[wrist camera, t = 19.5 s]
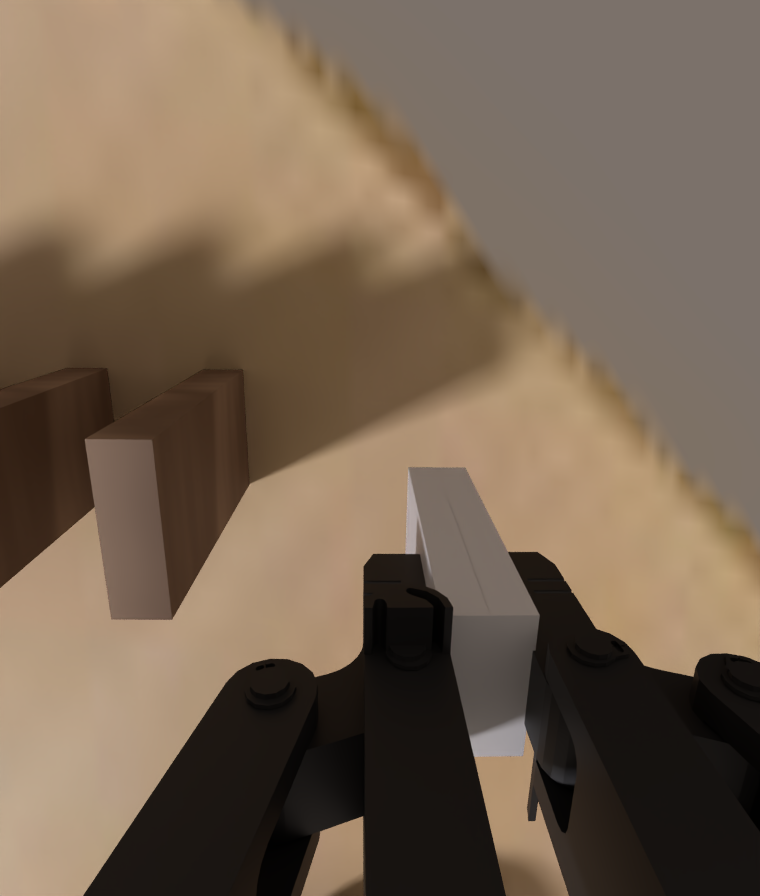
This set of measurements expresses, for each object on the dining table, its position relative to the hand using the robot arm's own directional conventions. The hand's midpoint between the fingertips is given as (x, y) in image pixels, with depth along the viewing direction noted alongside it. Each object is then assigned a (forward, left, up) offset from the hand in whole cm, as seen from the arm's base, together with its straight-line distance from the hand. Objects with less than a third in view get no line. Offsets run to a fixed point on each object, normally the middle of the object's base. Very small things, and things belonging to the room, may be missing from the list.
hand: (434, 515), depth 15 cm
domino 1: (0, -13, -9) cm, 16 cm away
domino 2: (0, -8, -9) cm, 12 cm away
